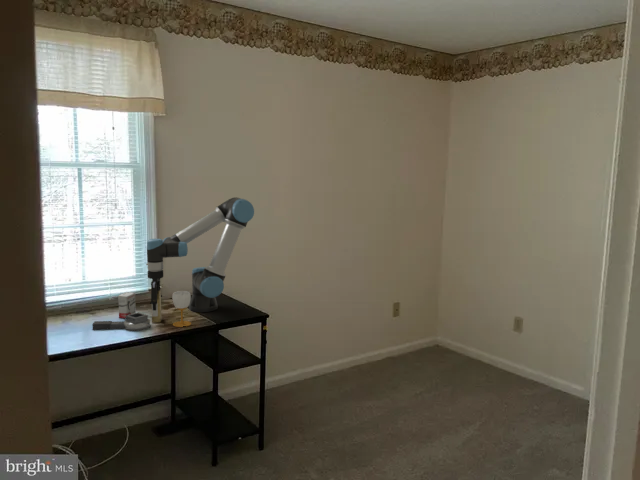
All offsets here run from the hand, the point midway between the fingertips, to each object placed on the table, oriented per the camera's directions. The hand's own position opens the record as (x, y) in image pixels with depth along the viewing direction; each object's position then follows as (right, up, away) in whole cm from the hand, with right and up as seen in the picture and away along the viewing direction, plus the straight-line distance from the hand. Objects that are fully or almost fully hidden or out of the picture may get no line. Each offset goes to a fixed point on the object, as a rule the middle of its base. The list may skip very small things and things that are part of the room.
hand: (156, 312), depth 271 cm
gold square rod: (0, -4, +1) cm, 4 cm away
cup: (+14, -5, -3) cm, 15 cm away
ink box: (-17, -3, +8) cm, 19 cm away
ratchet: (-14, -6, -10) cm, 18 cm away
